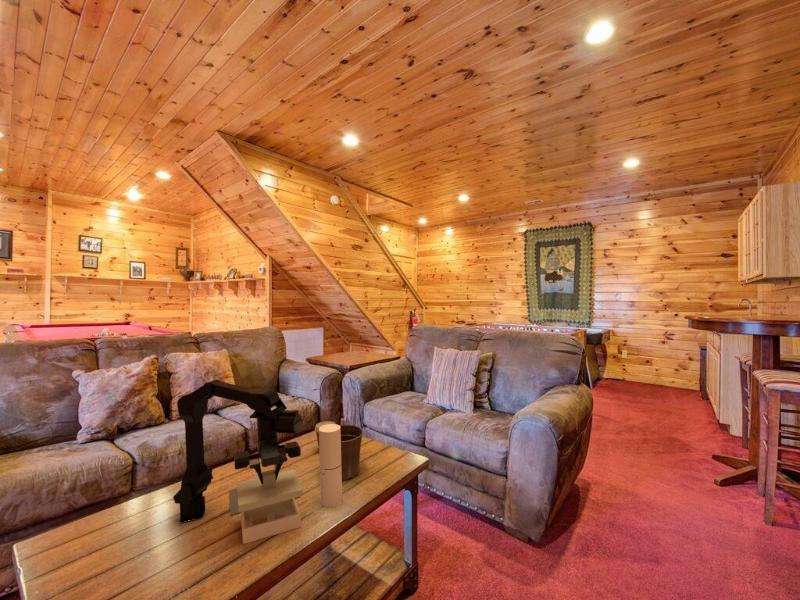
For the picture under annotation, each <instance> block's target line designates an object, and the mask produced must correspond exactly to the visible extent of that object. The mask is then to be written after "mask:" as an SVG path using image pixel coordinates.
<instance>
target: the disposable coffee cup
mask: <svg viewBox="0 0 800 600" xmlns="http://www.w3.org/2000/svg"><path fill="white" fill-rule="evenodd" d="M327 424H336V422H335V421H332V420H328V421H327V420H326V421H325V420H324V421H321V422H318V423H316V425H315V427H314V431H315V432H316V433H315V434H316V442H317V446H318V448H319V428H320V427H321V426H323V425H327Z"/></svg>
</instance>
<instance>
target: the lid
mask: <svg viewBox="0 0 800 600" xmlns="http://www.w3.org/2000/svg"><path fill="white" fill-rule="evenodd" d="M274 470H275V468H273V469H270V470H266V471H265V470H264V471H261V472H262V477H263V484H261V481H260V479H259V477H256V478H251V479H247V480H242V481H239V482H236V489H237V495H238V510H239V512H243V511H247V510H251V509H255V508H259V507H262V506H266V505H270V504H274V503H278V502H282V501H285V500H289V499H293V498H297V497H303V494H304V493H303V489H304V488H302V484H301V482H300V479H299V477H298V475H297V472H296V470H295V469H292V470H291V469H290V470H287V471H282V472H279V474H278V477H277V480H275V471H274ZM297 499H298V498H297Z"/></svg>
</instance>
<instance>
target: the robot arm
mask: <svg viewBox="0 0 800 600" xmlns="http://www.w3.org/2000/svg"><path fill="white" fill-rule="evenodd" d="M213 397H217V398H221V399H224V400H229V401H233V402H238V403H242V404H244V405H246V406H247V407H248V408H249V409H251V410H253V412H252V414H250V415H249V418H250V419H256V434H257V436H256V437H257V438H256V439H257V452H255V453H249V450H244V451H239V452H236V453H235V454H234V455H233V456H234V458H233V459H234V469H235V470H242V469H246V468H248V466H249V469H251V470H252V469H253V470H254V471H255V473H257V476H258V477H257V478H259V479H260V481H261V484H263V477H262V472H263V471H262V469H261V467H262V468H268V467H270V466H274V471H275V480H277V477H278V474H279V473H280V471H281V469H282V468H281V467H282V466H283V464H284V463H286V462H288V458H290V459H293V458H298V457H301V455H302V453H301V452H302V451H301V446H300V444H299V442H297V441H295V440H294V441H291V442H285V443H284V444H279V442H278V433H279V434H287V435H288V434H289V435H291V434H292V435H298V434H299V433H300V432H301V431H302V427H303V418H302V415H301V414H300V413H299V412H300V411H299V410H298V409H293V410H290V409H289V410H288V409H287V408H288V407H287V406H286V405H285V403H284V401H283V400H282V399H281V398H280V395H279V393H278V392H277V389H275V388H268V387H267V388H265V387H260V388H250V387H246V386H241V385H238V384H233V383H228V382H225V381H221V380H219V379H213V380H210V381H208V382H205V383H204V384H203V385H202V386H200V387H199V388H197V389H195V390H194V391H192V392H189V393H186V394H184V395H182V396H181V397H180V398H178V400H177V403H176V406H177V412H178V415H179V417H180V418H181V419H182V421H183V422H184V432H185V433H184V434H185V457H186V459H185V460H186V467H185V470H184V473H183V475H182V477H181V484H180V489H179V490H178V491H177V492H176V493H175V494H174V495H173V497H172V498H173V502H174V504H178V505H179V514H180V515H179V522H184V521H188V520H192V521H194V520H193V519H195V520H200V519H203V518H204V514H205V512H206V496H205V495H204V492H205V491H207V490H208V487H209V485H211V483H212V480H213V479H214V476H213V467H212V466H208V465H207V464H206V462H205V447H204V446H205V445H204V441H205V440H204V420H203V419H204V417H205V414H206V412H207V410H208V403H209V400H210V399H211V398H213ZM273 408H274V409H273ZM188 522H189V521H188ZM184 523H185V522H184Z"/></svg>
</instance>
